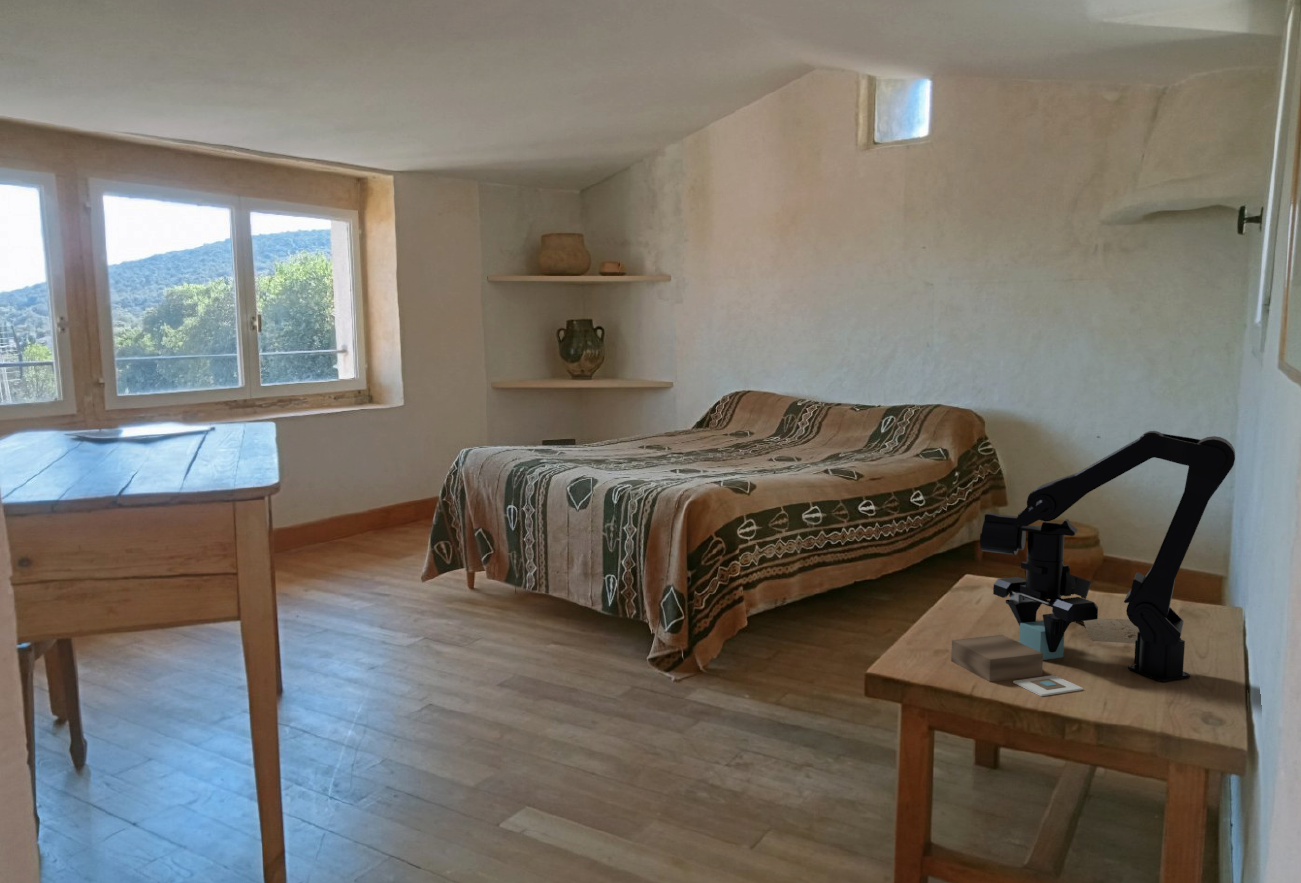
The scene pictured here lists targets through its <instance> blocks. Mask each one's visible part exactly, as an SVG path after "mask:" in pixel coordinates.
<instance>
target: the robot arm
mask: <svg viewBox="0 0 1301 883" xmlns="http://www.w3.org/2000/svg"><path fill="white" fill-rule="evenodd" d="M1154 458H1155V459H1160V460H1164V461H1168V462H1170V463H1171V462H1172V463H1176V464H1179V465H1184V466H1187V467H1188V470H1187V474H1186V480H1185V484H1184V490H1183V493H1182V496H1181V498H1180V500H1179V502H1178V506H1177V507H1176V510H1175V512H1174V514H1173V517H1172V520H1171V521H1170V524H1169V526H1168V529H1167V530H1166V534H1165V536H1164V538H1163V541H1162V543H1161V545H1160V547H1159V550H1158V552H1157V555H1156V557H1155V559H1154V562H1153V564H1152V566H1151V567H1150V569H1149V570H1148V572H1147V573H1146V574H1145V575H1144V574H1142V573H1140V572H1136V573H1135V575H1134V578H1133V580H1132V584H1131V588H1130V590H1128V592H1127V593H1126V596H1125V598H1124V601H1123V603H1125V604H1127V605H1126V616H1127V618H1128V620H1130V621H1131V622H1132V623H1133V624H1134V625H1135V626H1136V627H1138V629H1139V632H1138V633H1137V639H1136V640H1135V643H1134V657H1133V658H1134V661H1133V662H1134V663H1133V665H1128V667H1127V669H1128V670H1130V671H1132V672H1136V673H1137V674H1140V675H1142V676H1144V677H1148V678H1150V679H1152V680H1155V681H1157V682H1163V683H1164V682H1169V681H1175V680H1180V679H1181V680H1182V679H1188V678H1191V673H1189V672H1186V671H1184V661H1185V645H1186V644H1185V642H1186V641H1185V639H1182V638H1181V637H1182V631H1183V628H1184V627H1183V625H1184V619H1183V618H1182V617H1181V616H1180V615H1179V614H1177V612H1176V611H1175V610H1174V609H1172V607H1171V602H1172V597H1173V592H1174V587H1175V582H1176V577H1177V576H1178V572H1179V570H1180V568H1181V566H1182V565H1183V562H1184V559H1185V556H1186V554H1187V553H1188V550H1189V547H1190V545H1191V543H1192V540H1193V538H1194V535H1195V533H1196V531H1197V529H1198V526H1199V524H1200V522H1201V519H1202V517H1203V515H1204V512H1205V510H1206V508H1207V505H1208V504H1209V501H1210V499H1211V498H1212V497H1213V495H1214V494H1215V493H1216V491H1217V490H1218V488H1220V486H1221V484H1222V483H1223V482H1224V480H1225V479H1226V478H1227V476H1228V474H1229V473H1230V471H1231V470H1232V468H1233V467H1234V464H1235V461H1236V451H1235V448H1234V446H1233V444H1232V443H1231V442H1230V441H1228V440H1227V439H1225V438H1224V437H1221V436H1215V435H1214V436H1206V437H1204V438H1202V439H1199V438H1194V437H1188V436H1187V437H1186V436H1180V435H1176V434H1175V435H1174V434H1167V433H1164V432H1163V433H1161V431H1156V430H1149V431H1147V432H1144V433H1143V434H1142V435H1140V437H1138V438H1137V439H1135V440H1133V441H1131V442H1129V443H1128V444H1126V445H1124V446H1122V447H1121V448H1119V449H1117V450H1116V451H1113V452H1112V453H1110V454H1108V455H1106V456H1104V457H1103V458H1101V459H1100V460H1098V461H1096V462H1094V463H1092V464H1091V465H1089V466H1087V467H1085V468H1083V469H1082V470H1080V471H1078V472H1075V473H1073V474H1070V475H1067V476H1064V477H1061V478H1058V479H1055V480H1051V481H1048V482H1046V483H1044V484H1041V485H1040V486H1038V487H1037V488H1035V489H1034V490H1033V491H1031V492H1030V493H1029V494H1028V497H1027V500H1026V507H1025V509H1024V510H1022V511H1021V512H1019V513H1018V514H1017V516H1016V515H1007V514H1006V515H1005V514H998V513H996V512H987V513H986V514H985V515H984V519H983V520H984V521H983V524H982V528H981V533H980V534H979V545H980V546H979V547H980V550H981V551H982V552H987V553H988V552H989V553H996V554H1005V555H1014V556H1016V555H1017V554H1018V552H1019V551H1020V550H1021V551H1023V550H1025V548H1026V549H1027V550H1026V551H1027V552H1026V561H1021V562H1020V568H1021V569H1024V570H1026V571H1025V572H1026V573H1025V574H1026V575H1025V578H1023V577H1020V576H1014V577H1013V576H1012V577H1003V578H1002V577H1001V578H997V579H996V580H995V582H994V583H993V594H992V595H994V596H997V597H999V598H1000V597H1001V598H1003V599H1004V598H1007V597H1008V599H1006V600H1005V604H1007V605H1008V607H1009V608H1010V610H1011V612H1012V614H1013V616H1014V618H1015V619H1016V621H1017V622H1016V623H1017V624H1018V626H1019V627H1020V623H1026V622H1034V621H1037V612H1038V610H1039V608H1040V607H1041V606H1042V604H1043V605H1045V606H1048V607H1050V608H1052V609H1051V613H1045V614H1042V621H1044V627H1045V633H1046V639H1047V645H1048V648H1049V652H1051V653H1052V652H1056V650H1057V648H1058V646H1059V644H1060V642H1061V639H1062V637H1063V635H1064V636H1065V634H1066V631H1067V629H1068V627H1069V626H1070V625H1071V624H1072V623H1078V622H1083V621H1087V620H1095V619H1097V618H1099V617H1098V612H1099V606H1098V605H1097V604H1096V603H1095V602H1094V601H1091V600H1089V599H1087V597H1088V593H1089V591H1090V589H1091V585H1092V581H1090V580H1088V579H1084V578H1081V577H1079V576H1076V575H1073V574H1071V568H1070V565H1068V564H1064V556H1065V554H1064V553H1065V536H1067V537H1069V536H1070V537H1074V536H1075V535H1076V534H1077V533H1078V532H1079V531H1078V528H1076V527H1075V526H1074V525H1073V524H1072V522H1071V521H1070V520H1069V518H1068V519H1067V518H1066V519H1065V520H1063V522H1061V523H1060V522H1051V521H1054V520H1056V519H1058V517H1060V516H1061V515H1062V514H1064V513H1065V512H1066V511H1068V509H1070V508H1071V507H1072V506H1074V505H1075V504H1076V503H1078V502H1079V501H1080V500H1081V499H1082V498H1084V497H1085V495H1087V494H1088V493H1090V492H1092V491H1094V490H1095V489H1097V488H1099V487H1102V486H1103V485H1105V484H1107V483H1108V482H1111V481H1112V480H1114V479H1116V478H1118V477H1120V476H1121V475H1123V474H1125V473H1126V472H1129V471H1130V470H1132V469H1134V468H1136V467H1138V466H1139V465H1142V464H1143V463H1145V462H1147V461H1149V460H1151V459H1154ZM1038 521H1042V523H1041V525H1032V524H1034V523H1036V522H1038ZM1026 534H1027V535H1026ZM1026 536H1027V537H1026ZM1026 538H1027V539H1026ZM1026 540H1027V544H1026ZM1026 545H1027V547H1025V546H1026ZM1073 595H1076V596H1075V597H1070V596H1073ZM1062 597H1065V598H1062ZM1066 597H1067V598H1066Z"/></svg>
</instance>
